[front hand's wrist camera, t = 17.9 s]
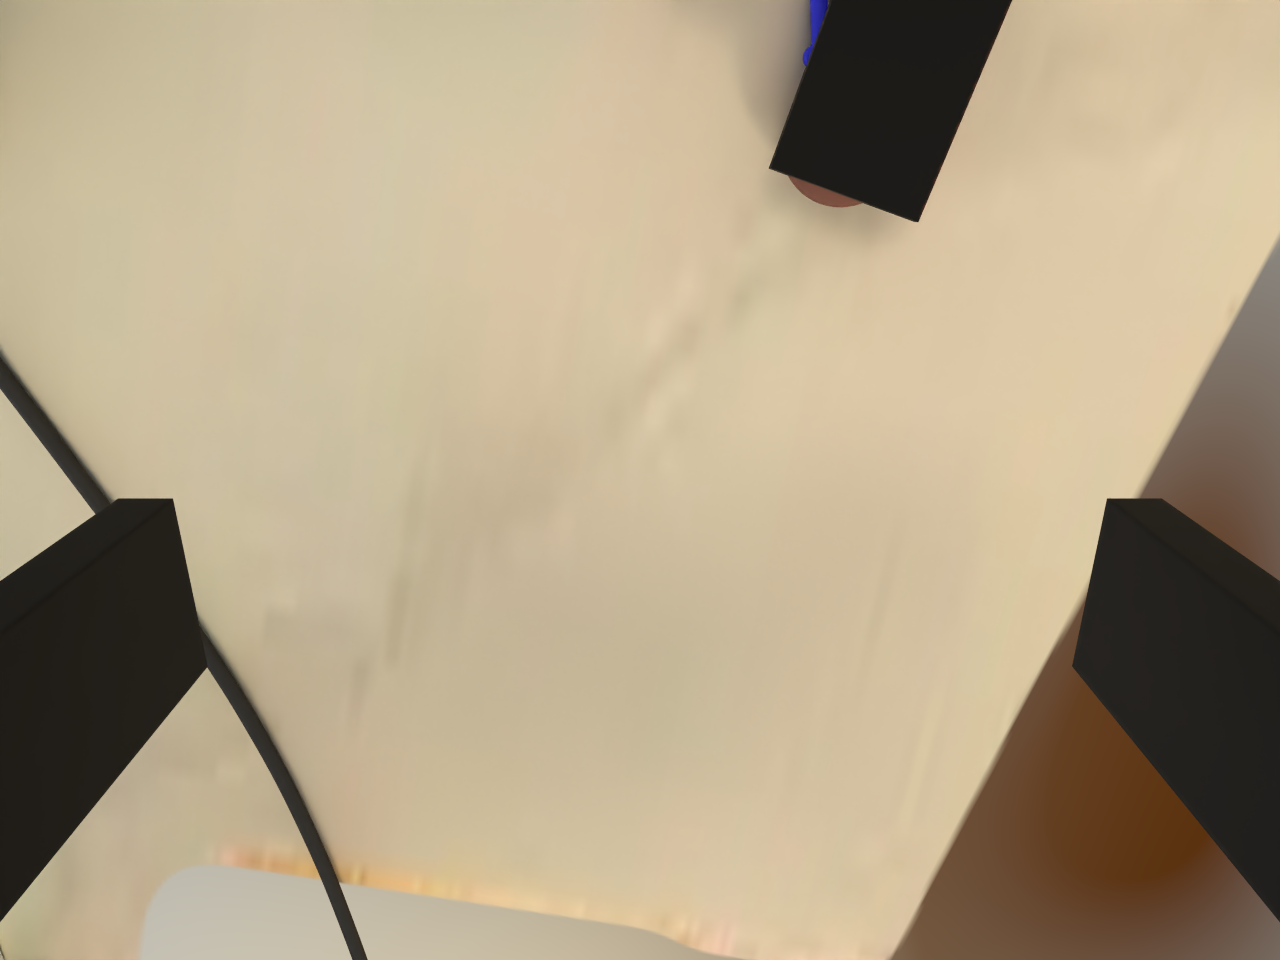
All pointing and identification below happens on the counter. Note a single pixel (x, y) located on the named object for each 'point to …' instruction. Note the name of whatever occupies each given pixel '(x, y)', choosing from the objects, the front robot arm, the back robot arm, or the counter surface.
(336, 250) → the counter surface
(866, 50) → the figurine character
